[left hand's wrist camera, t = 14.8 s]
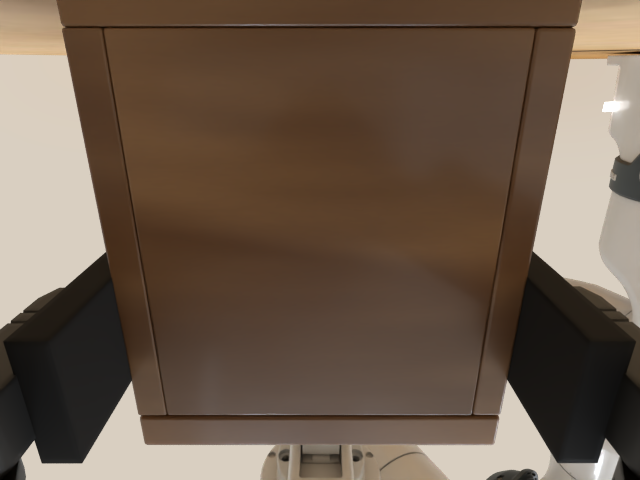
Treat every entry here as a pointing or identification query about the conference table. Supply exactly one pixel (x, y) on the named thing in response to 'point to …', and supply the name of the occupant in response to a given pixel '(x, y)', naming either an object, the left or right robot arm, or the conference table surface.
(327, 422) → the lid
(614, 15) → the conference table surface
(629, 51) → the conference table surface
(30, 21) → the conference table surface
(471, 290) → the chest
